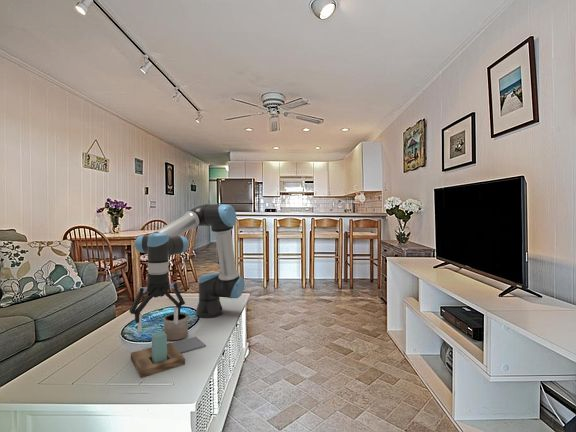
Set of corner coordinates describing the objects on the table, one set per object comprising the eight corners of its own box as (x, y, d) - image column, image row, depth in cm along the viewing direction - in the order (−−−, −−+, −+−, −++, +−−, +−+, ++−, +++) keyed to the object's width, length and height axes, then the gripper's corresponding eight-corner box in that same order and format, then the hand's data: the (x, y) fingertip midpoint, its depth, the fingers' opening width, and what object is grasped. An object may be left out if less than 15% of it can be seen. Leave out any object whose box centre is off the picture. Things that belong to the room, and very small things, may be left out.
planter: (158, 338, 148) (158, 318, 148) (176, 330, 158) (176, 311, 158) (175, 343, 143) (175, 322, 143) (192, 334, 153) (192, 315, 153)
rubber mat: (195, 337, 149) (195, 336, 149) (206, 346, 140) (206, 345, 140) (170, 344, 142) (170, 343, 142) (178, 354, 133) (178, 352, 133)
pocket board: (170, 348, 138) (170, 342, 138) (184, 364, 124) (184, 358, 124) (130, 358, 129) (130, 352, 129) (141, 377, 114) (141, 370, 114)
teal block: (163, 360, 127) (163, 331, 127) (167, 365, 124) (166, 334, 123) (151, 364, 124) (151, 333, 124) (155, 368, 121) (154, 337, 120)
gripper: (186, 267, 133) (186, 317, 134) (120, 275, 118) (121, 331, 119) (192, 270, 128) (193, 322, 128) (124, 278, 112) (125, 337, 113)
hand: (158, 326), depth 123 cm, fingers open, 13 cm apart
